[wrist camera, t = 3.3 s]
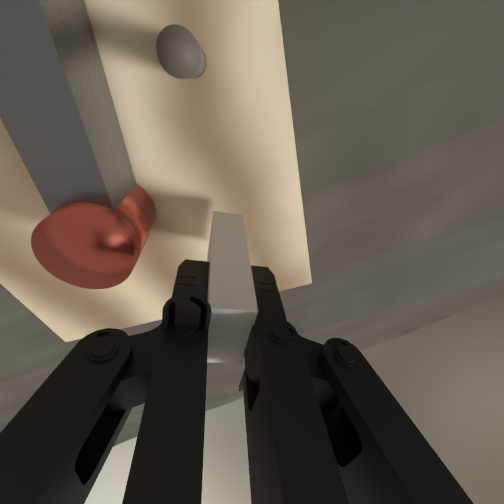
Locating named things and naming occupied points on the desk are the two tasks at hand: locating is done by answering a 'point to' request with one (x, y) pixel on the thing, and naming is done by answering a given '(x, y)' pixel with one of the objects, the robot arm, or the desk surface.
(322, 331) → the desk surface
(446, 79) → the desk surface
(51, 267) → the lever
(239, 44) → the board
